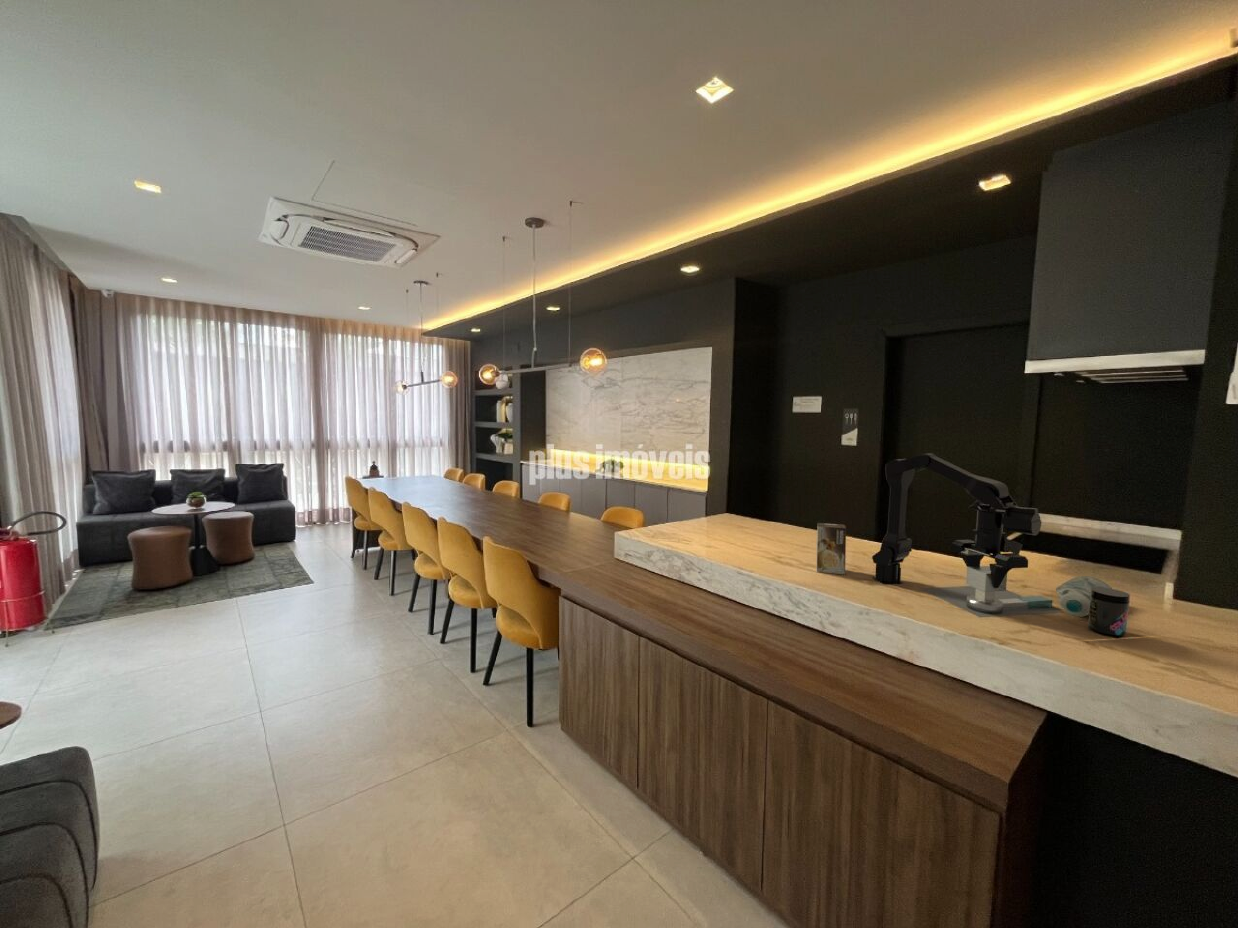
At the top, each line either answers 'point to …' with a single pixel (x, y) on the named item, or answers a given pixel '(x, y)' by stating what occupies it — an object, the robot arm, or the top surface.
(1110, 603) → the supplement container
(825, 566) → the coffee box
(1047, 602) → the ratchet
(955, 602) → the tool mat
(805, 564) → the top surface
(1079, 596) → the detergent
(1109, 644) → the top surface
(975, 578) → the grey block
